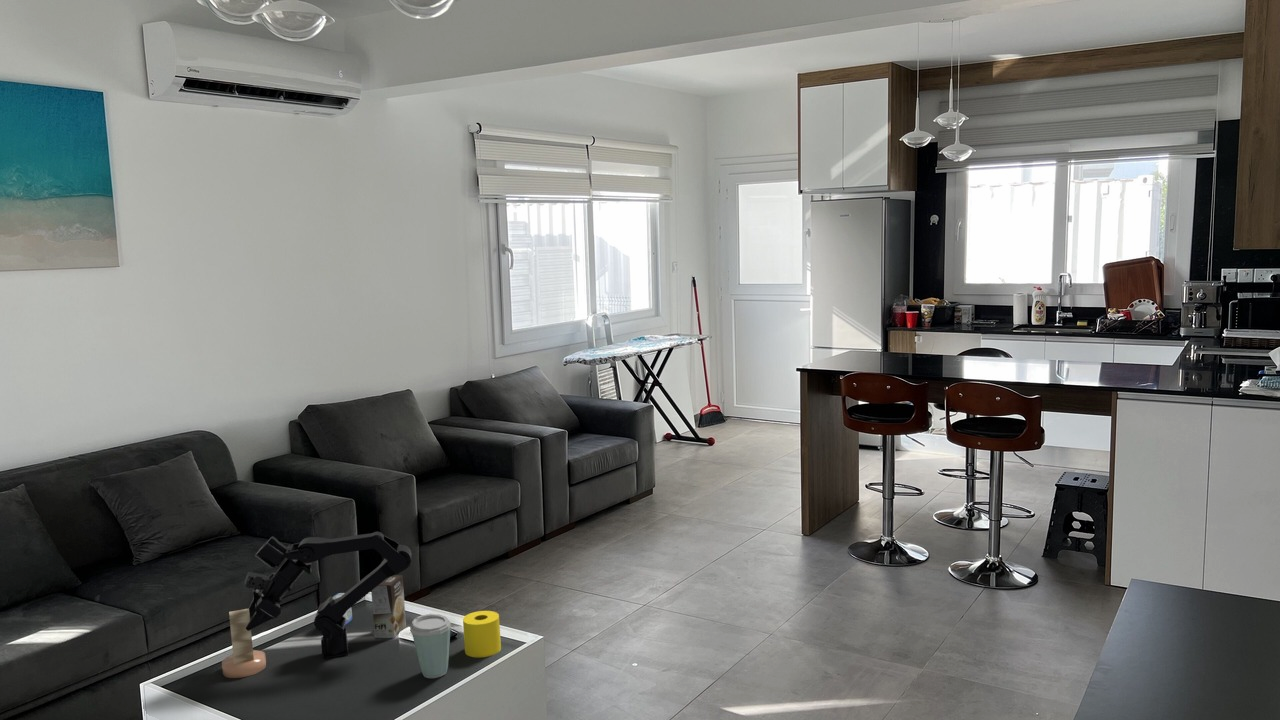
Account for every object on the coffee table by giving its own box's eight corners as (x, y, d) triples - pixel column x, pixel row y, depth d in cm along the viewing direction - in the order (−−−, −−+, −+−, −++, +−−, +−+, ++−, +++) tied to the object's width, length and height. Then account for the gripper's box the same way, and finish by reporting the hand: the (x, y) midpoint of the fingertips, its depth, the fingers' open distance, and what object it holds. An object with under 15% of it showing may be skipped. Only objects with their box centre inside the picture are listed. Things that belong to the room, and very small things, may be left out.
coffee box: (394, 638, 276) (390, 585, 274) (374, 638, 277) (369, 585, 275) (406, 626, 285) (402, 574, 283) (386, 625, 286) (382, 574, 284)
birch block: (253, 653, 263) (248, 608, 261) (253, 660, 258) (249, 614, 257) (233, 657, 261) (229, 611, 259) (234, 663, 256) (229, 617, 255)
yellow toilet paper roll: (478, 640, 272) (476, 609, 271) (507, 645, 268) (505, 613, 267) (457, 654, 263) (455, 621, 262) (487, 659, 259) (485, 626, 258)
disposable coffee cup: (462, 667, 254) (458, 613, 253) (441, 684, 244) (437, 629, 243) (427, 663, 258) (424, 610, 256) (405, 680, 248) (401, 625, 246)
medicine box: (339, 630, 284) (337, 602, 283) (326, 629, 285) (324, 601, 284) (352, 620, 292) (350, 592, 291) (339, 619, 293) (337, 592, 292)
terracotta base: (268, 658, 266) (267, 647, 266) (263, 674, 256) (262, 663, 255) (226, 664, 263) (225, 653, 263) (219, 680, 253) (218, 670, 253)
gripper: (258, 552, 267) (220, 597, 264) (263, 571, 251) (222, 619, 247) (290, 574, 272) (253, 618, 268) (297, 593, 255) (257, 641, 251)
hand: (246, 624), depth 259 cm, fingers open, 9 cm apart
